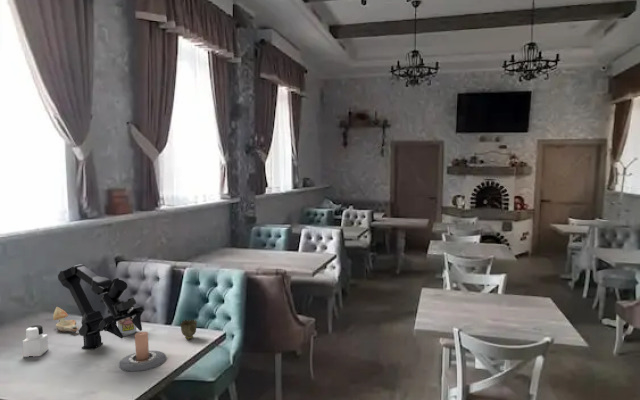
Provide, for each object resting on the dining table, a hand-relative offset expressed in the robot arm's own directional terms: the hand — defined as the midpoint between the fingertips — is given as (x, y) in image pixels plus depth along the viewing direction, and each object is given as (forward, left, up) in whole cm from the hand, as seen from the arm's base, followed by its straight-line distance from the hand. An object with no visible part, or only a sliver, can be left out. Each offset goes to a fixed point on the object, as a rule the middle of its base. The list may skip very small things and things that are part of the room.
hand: (132, 334), depth 186 cm
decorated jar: (-19, +27, -11) cm, 35 cm away
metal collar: (+6, -2, -11) cm, 12 cm away
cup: (+14, +24, -11) cm, 29 cm away
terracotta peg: (+5, -2, -10) cm, 12 cm away
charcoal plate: (+6, -2, -11) cm, 12 cm away
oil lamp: (-53, +27, -11) cm, 61 cm away
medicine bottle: (-46, 0, -11) cm, 48 cm away
